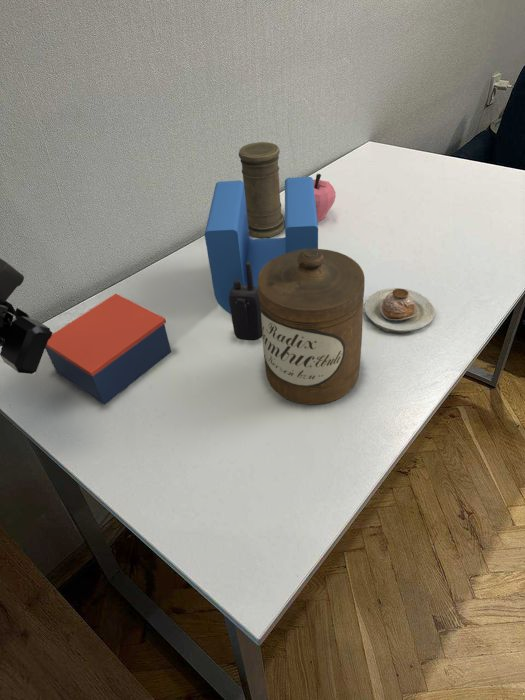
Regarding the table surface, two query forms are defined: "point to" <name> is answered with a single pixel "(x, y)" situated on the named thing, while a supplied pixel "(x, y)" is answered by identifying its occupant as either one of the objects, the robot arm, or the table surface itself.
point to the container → (262, 188)
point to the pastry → (399, 310)
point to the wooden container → (312, 324)
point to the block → (238, 248)
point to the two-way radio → (246, 309)
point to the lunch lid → (104, 333)
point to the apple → (323, 197)
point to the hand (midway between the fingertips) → (50, 334)
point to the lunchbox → (116, 367)
